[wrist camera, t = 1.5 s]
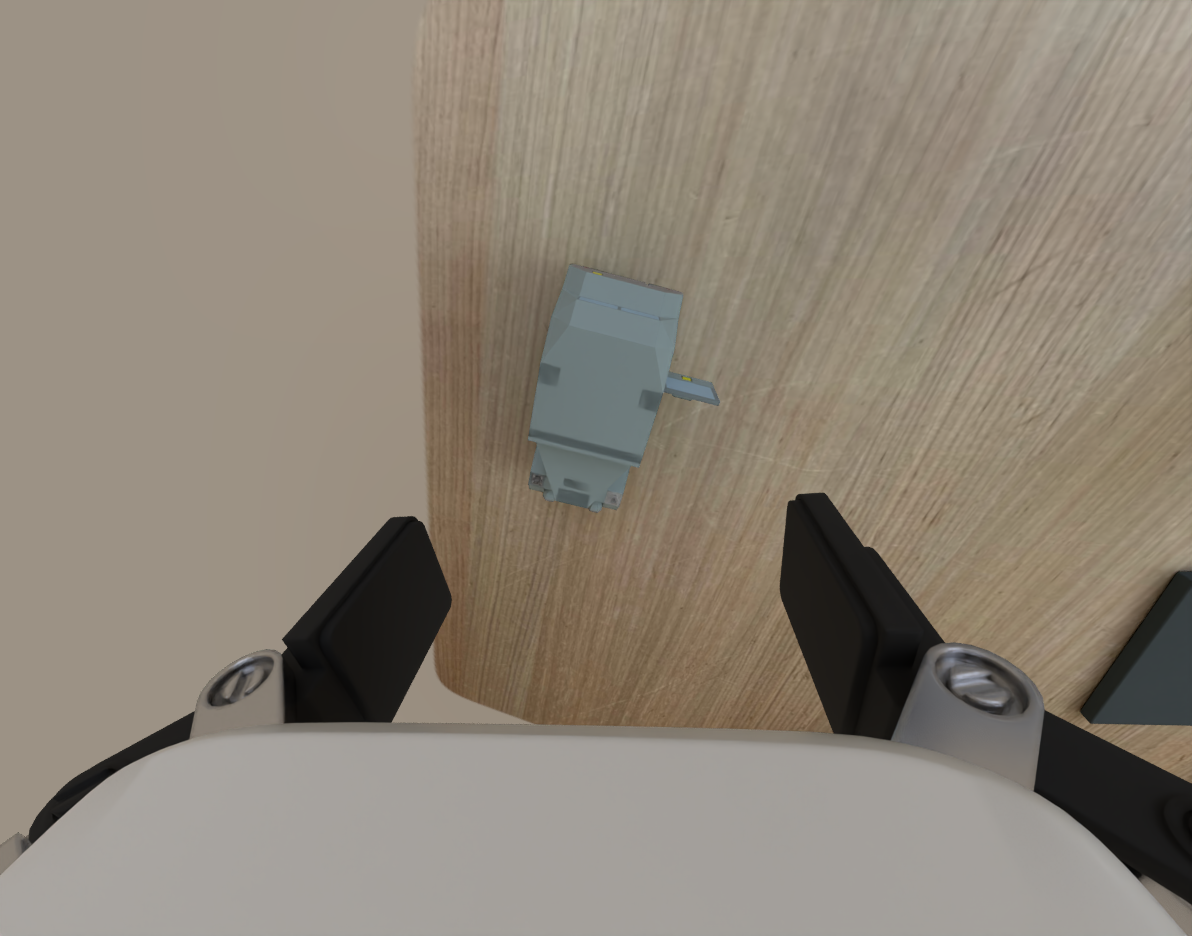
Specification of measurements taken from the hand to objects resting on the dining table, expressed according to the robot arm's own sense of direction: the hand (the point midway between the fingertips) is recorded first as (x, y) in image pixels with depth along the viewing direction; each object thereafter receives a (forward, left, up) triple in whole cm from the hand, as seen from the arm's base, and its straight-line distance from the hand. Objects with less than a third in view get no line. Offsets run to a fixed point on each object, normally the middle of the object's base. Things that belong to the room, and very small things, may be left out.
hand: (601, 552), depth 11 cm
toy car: (0, 0, -11) cm, 11 cm away
